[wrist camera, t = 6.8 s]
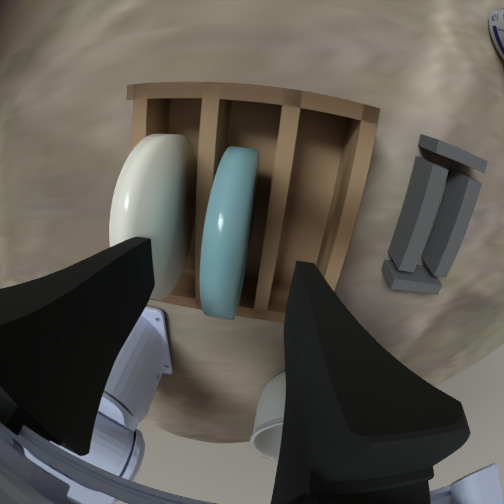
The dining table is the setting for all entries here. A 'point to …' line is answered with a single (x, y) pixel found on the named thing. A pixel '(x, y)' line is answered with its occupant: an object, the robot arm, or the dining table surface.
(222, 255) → the teal plate
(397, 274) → the rubber holder
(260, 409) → the teacup
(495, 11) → the energy drink
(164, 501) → the robot arm
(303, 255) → the walnut rack
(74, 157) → the dining table surface
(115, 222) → the racked cream plate
